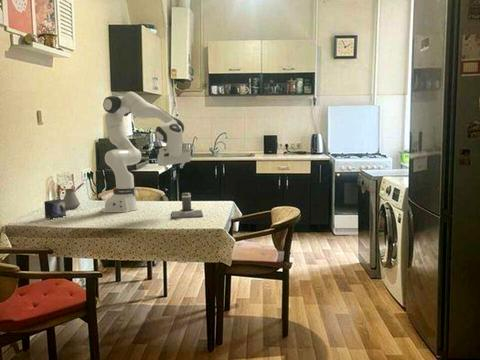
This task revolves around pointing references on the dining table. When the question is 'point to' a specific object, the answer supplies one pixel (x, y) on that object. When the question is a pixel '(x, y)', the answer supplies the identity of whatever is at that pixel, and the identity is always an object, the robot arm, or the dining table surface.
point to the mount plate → (187, 214)
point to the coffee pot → (71, 198)
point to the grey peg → (186, 201)
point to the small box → (55, 208)
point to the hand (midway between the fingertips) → (173, 168)
